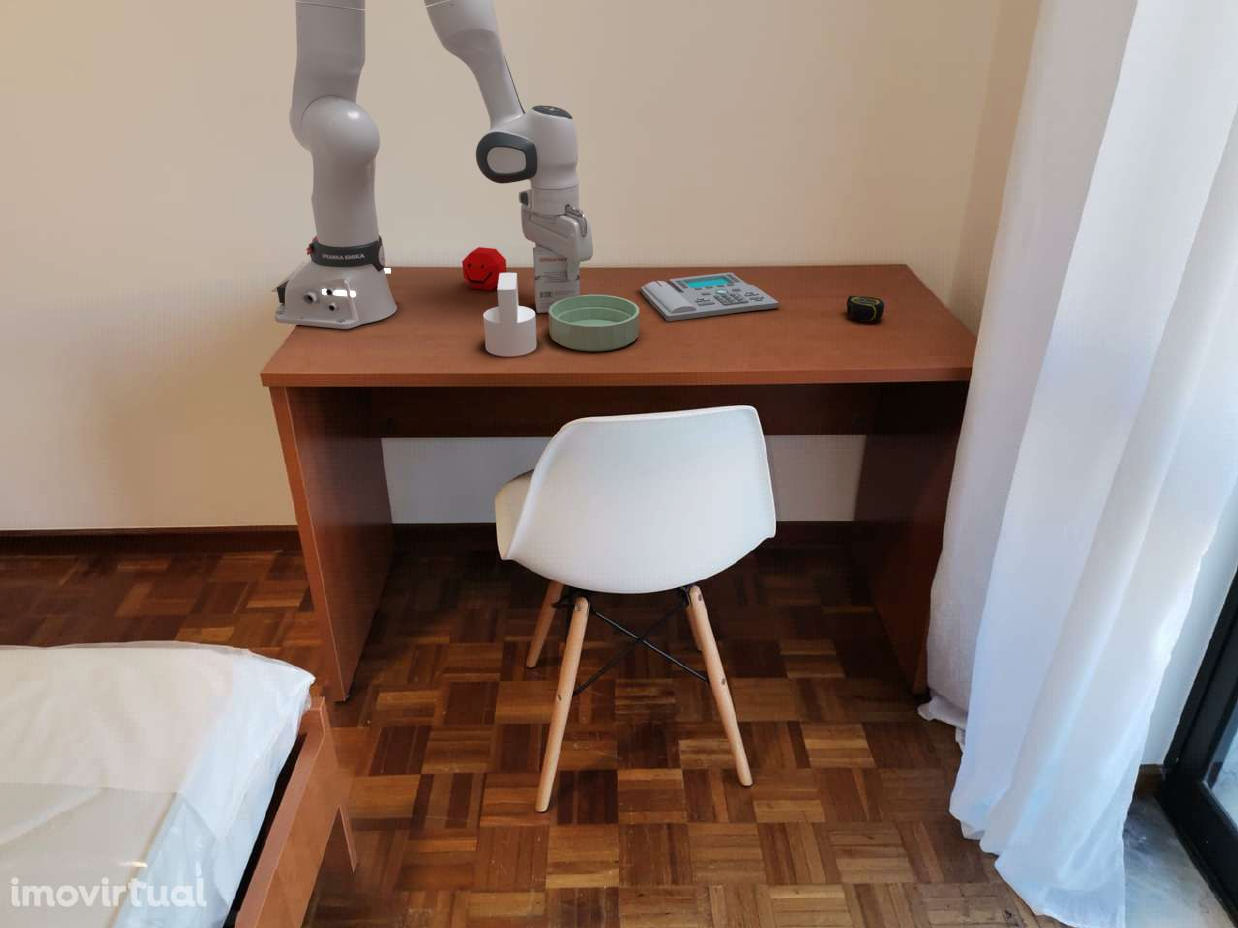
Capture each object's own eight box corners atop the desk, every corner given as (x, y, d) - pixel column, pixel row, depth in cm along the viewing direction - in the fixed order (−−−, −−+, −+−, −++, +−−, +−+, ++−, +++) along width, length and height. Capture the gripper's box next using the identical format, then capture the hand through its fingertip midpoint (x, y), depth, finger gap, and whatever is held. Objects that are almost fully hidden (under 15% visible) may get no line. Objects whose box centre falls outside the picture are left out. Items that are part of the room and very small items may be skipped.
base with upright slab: (486, 337, 163) (482, 273, 157) (536, 336, 164) (534, 272, 158) (484, 357, 156) (479, 290, 150) (536, 355, 156) (533, 289, 150)
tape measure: (881, 314, 175) (884, 295, 173) (882, 326, 169) (885, 307, 168) (845, 311, 177) (848, 292, 175) (844, 323, 171) (847, 304, 169)
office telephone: (668, 309, 169) (633, 277, 186) (667, 322, 171) (633, 289, 187) (779, 295, 176) (736, 265, 192) (778, 308, 177) (735, 277, 193)
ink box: (577, 302, 179) (576, 244, 173) (580, 311, 175) (579, 251, 169) (534, 304, 178) (532, 245, 172) (536, 313, 174) (534, 253, 168)
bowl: (545, 352, 158) (544, 325, 155) (554, 319, 172) (553, 293, 169) (638, 354, 157) (638, 327, 155) (639, 320, 171) (639, 295, 169)
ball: (459, 290, 185) (456, 254, 181) (476, 278, 192) (473, 243, 188) (495, 294, 183) (493, 258, 179) (511, 282, 190) (509, 246, 186)
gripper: (600, 209, 161) (601, 284, 168) (542, 187, 175) (545, 256, 182) (570, 215, 158) (572, 291, 165) (513, 191, 172) (518, 262, 179)
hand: (558, 272), depth 174 cm, fingers open, 8 cm apart
